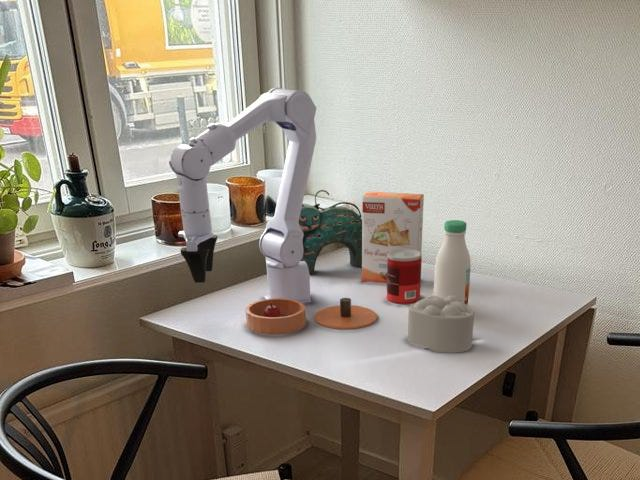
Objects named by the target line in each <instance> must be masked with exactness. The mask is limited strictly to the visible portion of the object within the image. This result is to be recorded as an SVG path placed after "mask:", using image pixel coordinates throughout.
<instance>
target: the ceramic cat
mask: <svg viewBox="0 0 640 480" xmlns="http://www.w3.org/2000/svg"><path fill="white" fill-rule="evenodd" d="M321 192H323V193H326V194H327V195H328V196H330V193H329V191H327V190H325V189H319V190H318V191H317V192H316V193H315V196H314V205H312V204H309V203H302V208H301V213H300V217H299V225H300V227H301V229H302V231H303V234H304V235H303V250H304V251H303V256H302V258H301V260H300V261H305V262H306V264H307V266H308V269H309V275H313V274H315V271H316V269H315V268H316V264H317V260H318V256H319V255H320V253H321V251H322V250H323V248H324V247H326V246H329V245H332V244H336V243H337V244H341V245H344V246H345V247H346V248H347V249H348V252H349V264H350V266H352V267H354V268H362V212H361V211H360V208H359V207H358V206H357V205H356V204H355V203H352V202H349V201H340V202H337V203H335V204H333V205H331V206H328V207H324V208H323V207H320V205H321V204H320V203H317V195H318V194H320V193H321ZM339 205H350V206H352V207H354V208H355V209H356V210H357V211H358V213H357V212H356V211H354V210H353V209H350V208H348V207H345V206H339Z"/></svg>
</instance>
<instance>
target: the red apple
mask: <svg viewBox="0 0 640 480" xmlns="http://www.w3.org/2000/svg"><path fill="white" fill-rule="evenodd" d="M270 304H271V305H268V306H267V307H266V309H265V311H264V316H263V317H281V315H282V314H280V311H279V309H278V308H277V306H276V305H272V302H271V303H270Z"/></svg>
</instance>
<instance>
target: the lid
mask: <svg viewBox="0 0 640 480" xmlns="http://www.w3.org/2000/svg"><path fill="white" fill-rule="evenodd" d="M377 318H378V317H377V313H376V312H375V311H374V310H373V309H371V308H369V307H365V306H361V305H354V304H353V305H352V299H351V298H350V297H342V298H340V299H339V305H333V306H328V307H324V308H322V309H320V310H317V312H316V313H315V314H314V321H315V322H316V323H317V324H319V325H320V326H322V327H326V328H330V329H334V330H336V329H337V330H354V329H360V328H366V327H368V326H370V325H373V324H374V323H375V322H376V321H377Z"/></svg>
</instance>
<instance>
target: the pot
mask: <svg viewBox="0 0 640 480" xmlns="http://www.w3.org/2000/svg"><path fill="white" fill-rule="evenodd" d="M271 302H272V305H276V306H277V308H278V309H279V311H280V314H281V315H284V316H280V317H264V311H265V309H266V307H267V306H268V305H271V304H270V303H271ZM306 313H307V312H306V305H305V303H301V302H299V301H297V300H292V299H284V298H271V299H265V298H264V299H260V300H256V301H254V302H251V303H249V304H248V305H247V306H246V307H245V318H246V326H247V328H248V329H249V330H251V331H252V332H254V333H258V334H263V335H285V334H291V333H294V332H297V331H299V330H302V329H304V327H305V326H306V325H307V317H306V315H307V314H306Z"/></svg>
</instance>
